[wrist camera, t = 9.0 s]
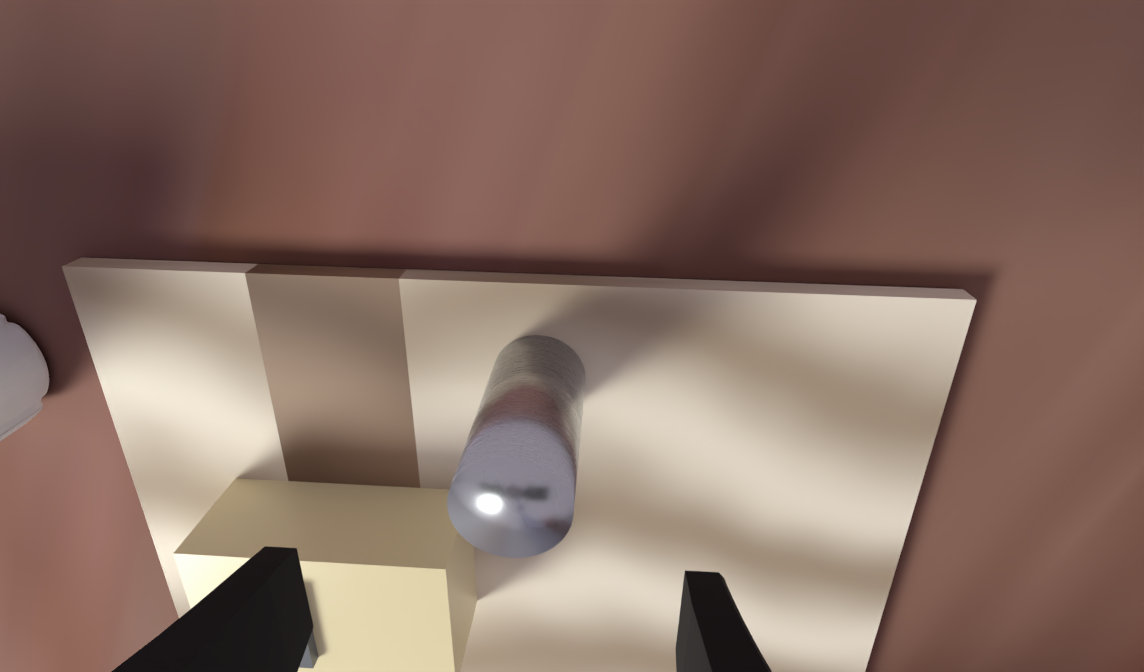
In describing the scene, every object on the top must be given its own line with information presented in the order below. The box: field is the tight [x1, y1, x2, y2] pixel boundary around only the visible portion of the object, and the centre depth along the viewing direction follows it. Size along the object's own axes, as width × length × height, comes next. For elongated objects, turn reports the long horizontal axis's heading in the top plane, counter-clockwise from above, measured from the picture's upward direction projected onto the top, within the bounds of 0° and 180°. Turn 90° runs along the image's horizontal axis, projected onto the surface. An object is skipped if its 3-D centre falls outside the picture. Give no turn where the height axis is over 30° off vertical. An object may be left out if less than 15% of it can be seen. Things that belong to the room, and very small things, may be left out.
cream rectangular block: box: [173, 478, 477, 672], centre depth 22 cm, size 5×8×4 cm, turn 89°
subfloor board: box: [62, 258, 977, 672], centre depth 23 cm, size 18×26×1 cm
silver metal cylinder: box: [447, 335, 586, 558], centre depth 17 cm, size 3×3×6 cm
